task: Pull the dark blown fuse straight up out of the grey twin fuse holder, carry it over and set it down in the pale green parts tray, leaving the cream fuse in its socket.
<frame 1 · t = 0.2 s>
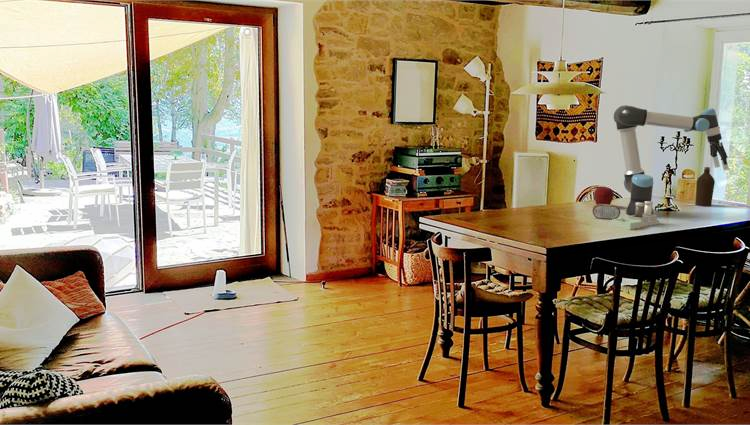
hand: (721, 168, 408), 28 cm above the table, tool tilted 20°, fingers open, 13 cm apart
olive oil: (703, 205, 446), on the table
fuse holder: (642, 223, 376), on the table
tin: (605, 219, 389), on the table
apple: (602, 207, 431), on the table
parts tray: (626, 226, 367), on the table
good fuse: (647, 219, 379), point 2 cm above the table, touching fuse holder
blown fuse: (638, 221, 373), point 2 cm above the table, touching fuse holder
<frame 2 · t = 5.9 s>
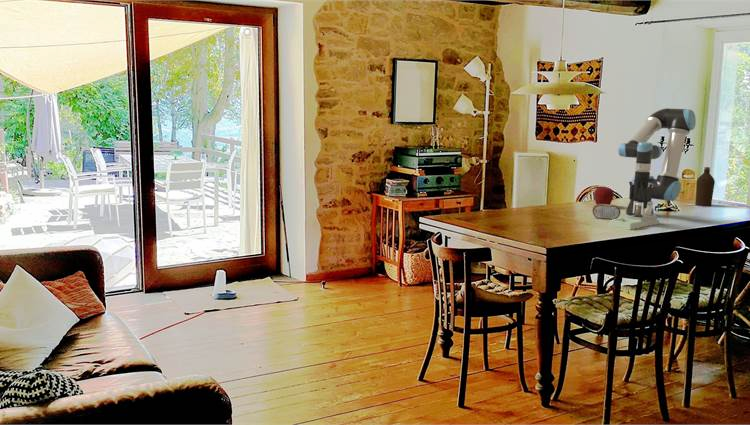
hand: (638, 213, 373), 6 cm above the table, tool pointing down, fingers closed on blown fuse, 4 cm apart
blown fuse: (638, 221, 373), point 2 cm above the table, touching fuse holder, gripper
everything else where it was.
when the fingers open (7 cm above the table, at t = 12.3 s): blown fuse drops 1 cm, resting on parts tray.
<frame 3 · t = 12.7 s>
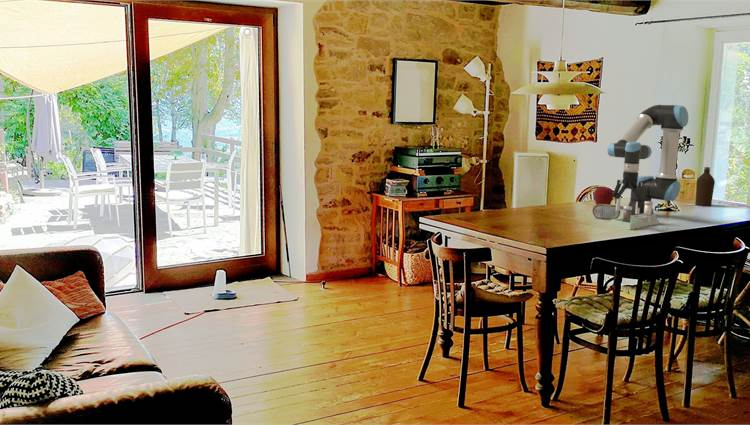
hand: (627, 212, 365), 8 cm above the table, tool pointing down, fingers open, 11 cm apart
blown fuse: (626, 224, 366), point 1 cm above the table, touching parts tray
everything else where it was.
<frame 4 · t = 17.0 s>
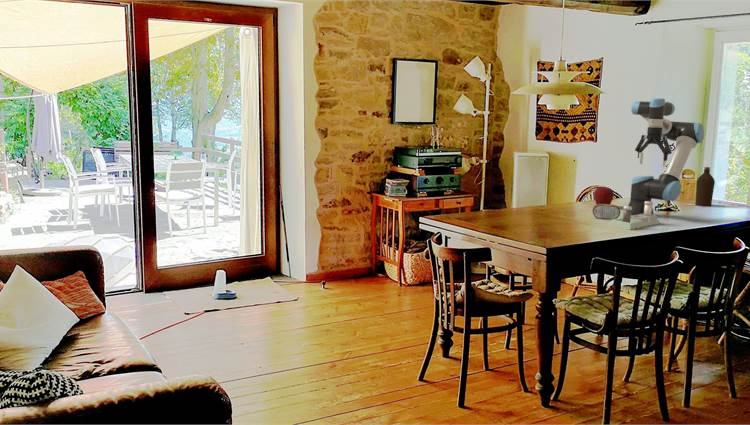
hand: (651, 165, 377), 32 cm above the table, tool pointing down, fingers open, 13 cm apart
nothing on the table moved.
at the end: blown fuse inside the target area on the parts tray (0.0 cm from its centre), point 1.0 cm above the parts tray's base; the gripper is holding nothing; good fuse moved 0.0 cm from its start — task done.
